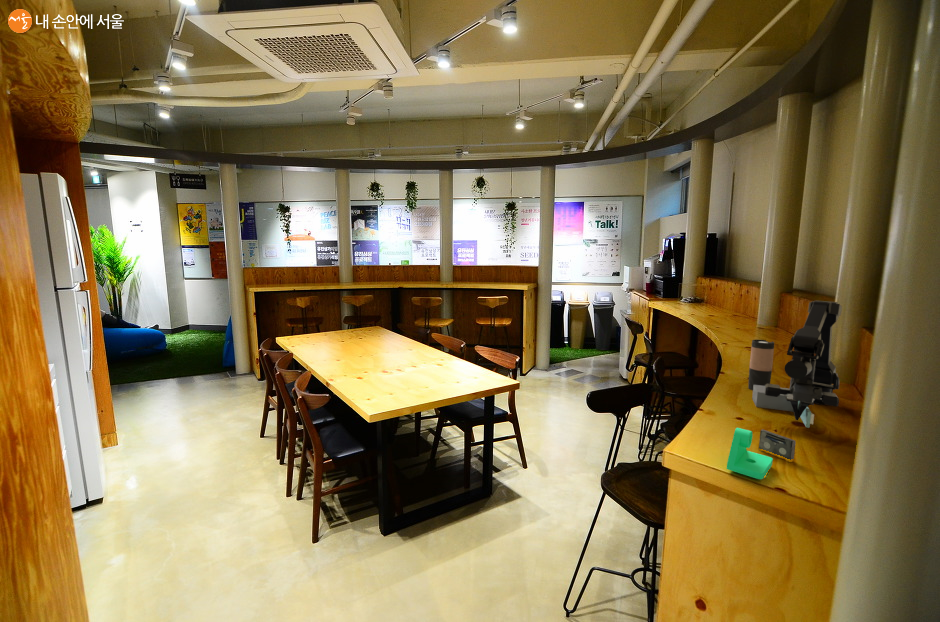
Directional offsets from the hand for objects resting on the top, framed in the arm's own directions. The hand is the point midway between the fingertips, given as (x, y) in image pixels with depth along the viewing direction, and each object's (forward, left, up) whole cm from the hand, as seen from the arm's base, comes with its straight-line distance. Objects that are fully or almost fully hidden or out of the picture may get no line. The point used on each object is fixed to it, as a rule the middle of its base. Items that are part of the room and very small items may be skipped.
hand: (796, 419), depth 142 cm
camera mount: (+36, +27, -2) cm, 45 cm away
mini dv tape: (+23, +20, -2) cm, 31 cm away
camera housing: (-8, -18, -2) cm, 19 cm away
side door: (-6, -3, -1) cm, 7 cm away
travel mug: (-15, -36, -2) cm, 39 cm away
